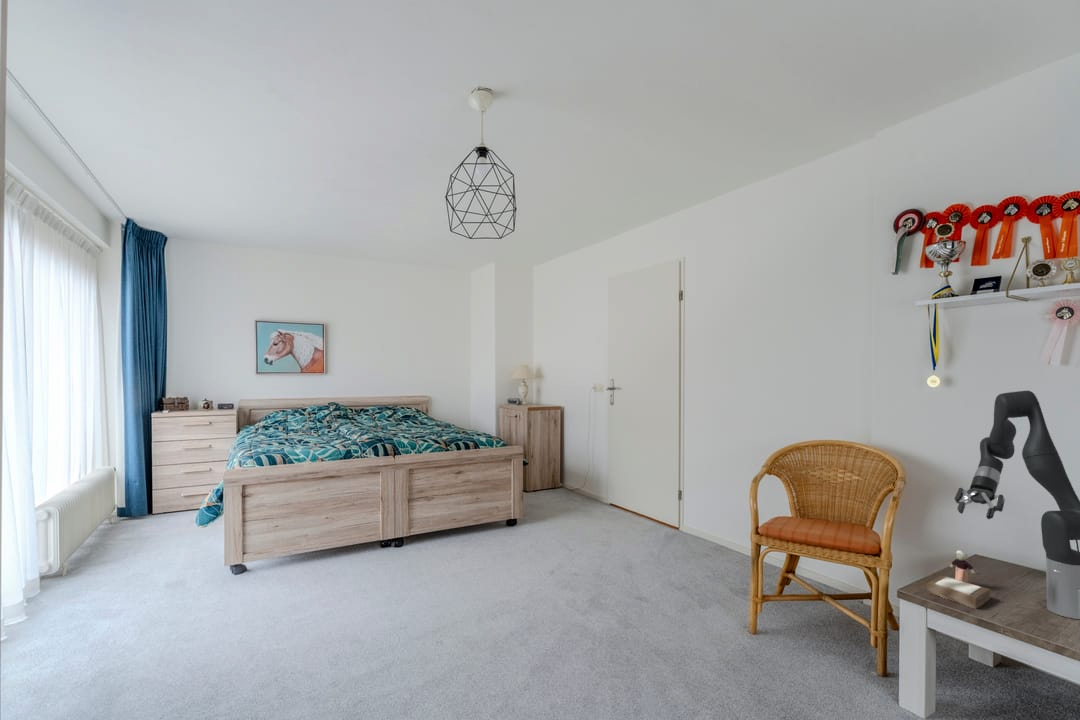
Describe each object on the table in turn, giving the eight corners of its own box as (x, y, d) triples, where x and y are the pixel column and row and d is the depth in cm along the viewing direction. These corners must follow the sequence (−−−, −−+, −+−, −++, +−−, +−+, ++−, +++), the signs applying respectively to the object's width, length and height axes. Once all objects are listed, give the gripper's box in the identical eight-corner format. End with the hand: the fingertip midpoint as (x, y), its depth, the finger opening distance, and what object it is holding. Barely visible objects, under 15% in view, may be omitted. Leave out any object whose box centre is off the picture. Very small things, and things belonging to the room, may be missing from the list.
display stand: (990, 599, 179) (989, 588, 179) (975, 608, 173) (975, 596, 173) (942, 585, 191) (942, 574, 191) (927, 593, 185) (926, 581, 185)
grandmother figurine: (947, 582, 193) (947, 549, 193) (951, 580, 195) (950, 546, 195) (974, 590, 186) (973, 555, 186) (977, 587, 189) (976, 552, 189)
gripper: (960, 471, 207) (948, 504, 201) (1006, 478, 195) (995, 514, 189) (966, 483, 210) (954, 516, 204) (1011, 490, 198) (1000, 525, 192)
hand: (974, 515), depth 197 cm, fingers open, 8 cm apart
